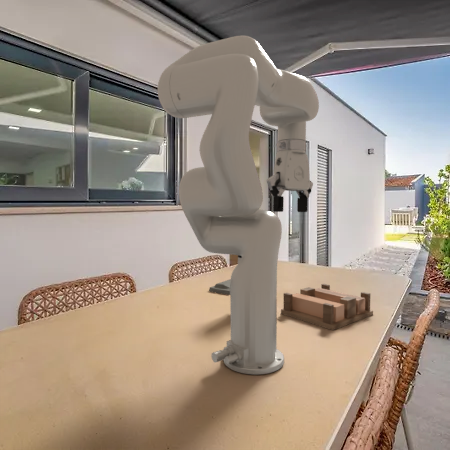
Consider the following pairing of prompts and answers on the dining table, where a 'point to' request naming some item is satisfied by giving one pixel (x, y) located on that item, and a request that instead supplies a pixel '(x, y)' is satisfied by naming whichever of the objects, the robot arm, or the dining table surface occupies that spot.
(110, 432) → the dining table surface
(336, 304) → the slat
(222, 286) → the soap mold
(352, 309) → the rack
